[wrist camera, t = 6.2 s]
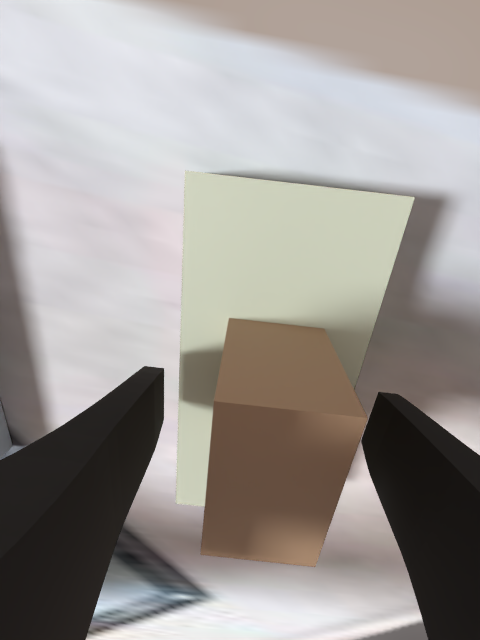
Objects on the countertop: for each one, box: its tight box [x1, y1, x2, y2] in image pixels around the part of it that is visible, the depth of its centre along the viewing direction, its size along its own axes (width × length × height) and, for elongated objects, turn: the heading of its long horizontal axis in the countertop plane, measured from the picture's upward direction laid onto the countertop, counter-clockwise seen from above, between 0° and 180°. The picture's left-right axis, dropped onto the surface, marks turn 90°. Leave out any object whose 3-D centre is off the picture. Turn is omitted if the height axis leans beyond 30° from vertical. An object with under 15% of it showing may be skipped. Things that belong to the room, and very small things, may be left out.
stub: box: [176, 171, 415, 567], centre depth 10 cm, size 13×6×6 cm, turn 174°
